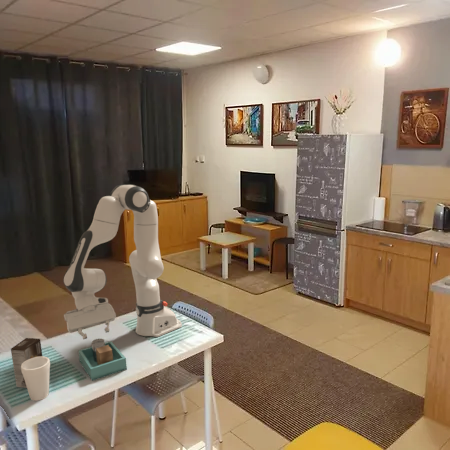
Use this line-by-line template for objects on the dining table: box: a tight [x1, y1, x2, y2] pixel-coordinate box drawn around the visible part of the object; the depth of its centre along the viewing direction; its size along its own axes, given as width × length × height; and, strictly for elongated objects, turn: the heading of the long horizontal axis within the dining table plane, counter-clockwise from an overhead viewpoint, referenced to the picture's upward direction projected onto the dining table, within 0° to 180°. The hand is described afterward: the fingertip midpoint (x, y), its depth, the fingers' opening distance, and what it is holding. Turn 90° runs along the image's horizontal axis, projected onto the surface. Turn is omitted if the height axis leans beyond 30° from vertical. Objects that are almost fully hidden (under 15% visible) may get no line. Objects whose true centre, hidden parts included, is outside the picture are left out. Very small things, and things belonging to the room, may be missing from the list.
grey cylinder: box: [91, 338, 106, 362], centre depth 175 cm, size 5×5×8 cm
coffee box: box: [10, 337, 43, 389], centre depth 161 cm, size 9×6×16 cm
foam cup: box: [21, 355, 51, 402], centre depth 152 cm, size 10×9×13 cm
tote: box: [77, 340, 128, 381], centre depth 172 cm, size 14×18×5 cm
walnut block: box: [96, 345, 113, 365], centre depth 168 cm, size 5×5×8 cm
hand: (96, 335), depth 176 cm, fingers open, 8 cm apart
